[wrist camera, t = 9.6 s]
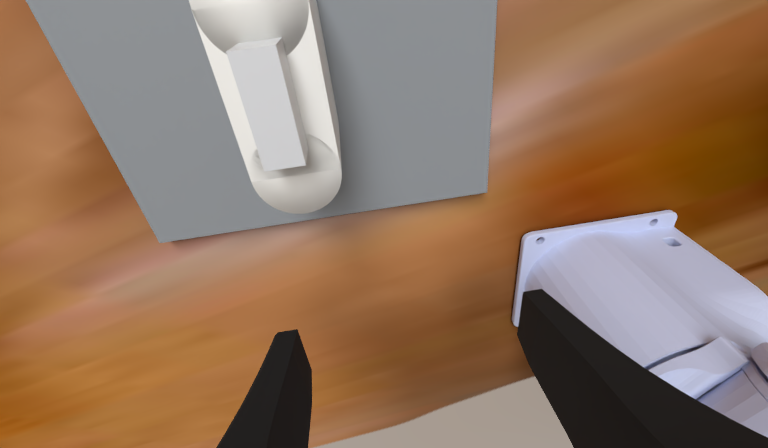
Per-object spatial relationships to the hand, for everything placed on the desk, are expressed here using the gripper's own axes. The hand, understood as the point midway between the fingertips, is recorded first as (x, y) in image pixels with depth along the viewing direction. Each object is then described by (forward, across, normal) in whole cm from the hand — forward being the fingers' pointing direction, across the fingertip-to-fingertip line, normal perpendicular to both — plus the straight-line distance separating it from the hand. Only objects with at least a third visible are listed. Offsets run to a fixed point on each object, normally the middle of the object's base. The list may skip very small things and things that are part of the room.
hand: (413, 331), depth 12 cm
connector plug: (+9, +3, -7) cm, 11 cm away
